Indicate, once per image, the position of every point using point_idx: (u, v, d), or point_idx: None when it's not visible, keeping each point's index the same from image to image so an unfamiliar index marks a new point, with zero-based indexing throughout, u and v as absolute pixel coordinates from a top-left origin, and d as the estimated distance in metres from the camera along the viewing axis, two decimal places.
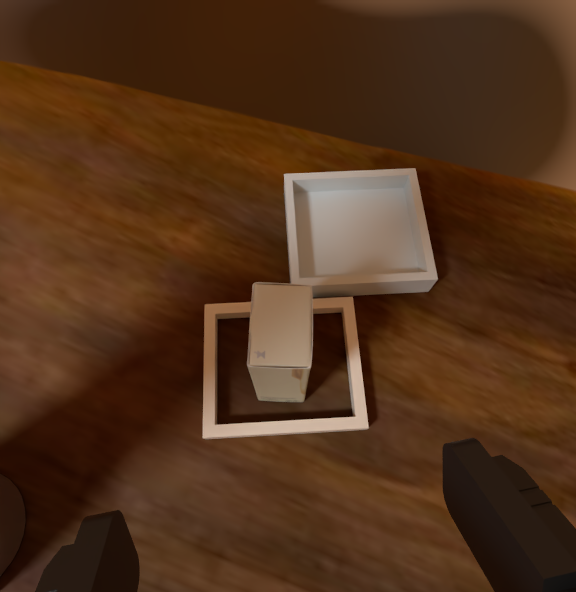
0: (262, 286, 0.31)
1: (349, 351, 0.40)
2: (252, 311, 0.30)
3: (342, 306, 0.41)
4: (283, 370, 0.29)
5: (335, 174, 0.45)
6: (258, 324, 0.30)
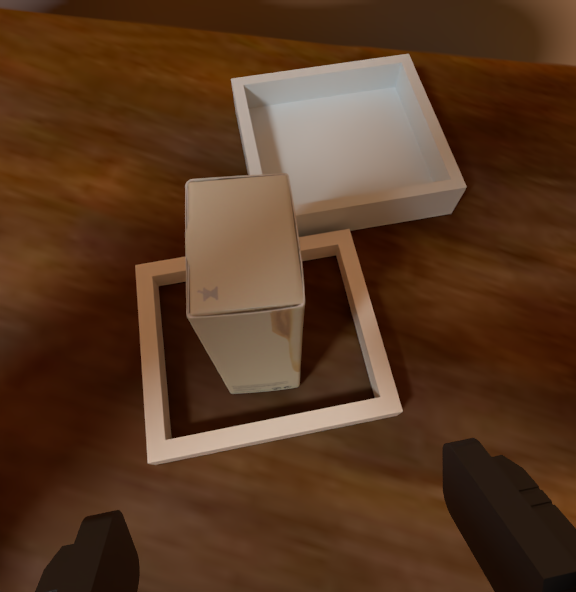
0: (203, 184, 0.18)
1: (356, 304, 0.27)
2: (188, 225, 0.17)
3: (336, 243, 0.29)
4: (255, 318, 0.16)
5: (302, 72, 0.33)
6: (201, 244, 0.16)
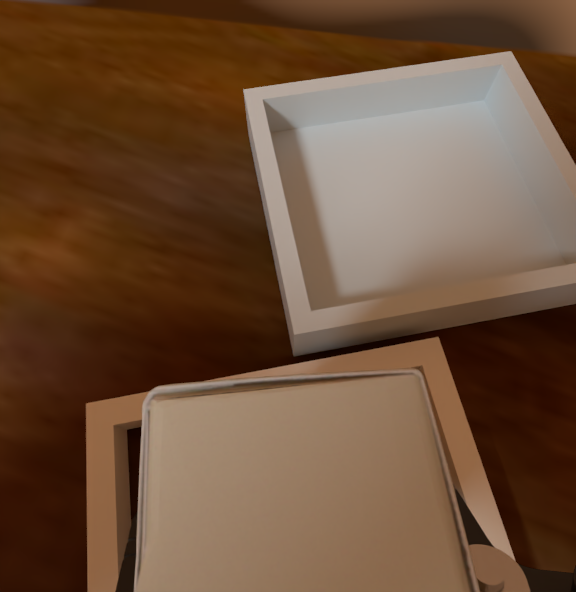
0: (191, 407, 0.06)
1: (462, 481, 0.16)
2: (144, 560, 0.06)
3: (419, 363, 0.17)
4: None
5: (352, 79, 0.21)
6: None
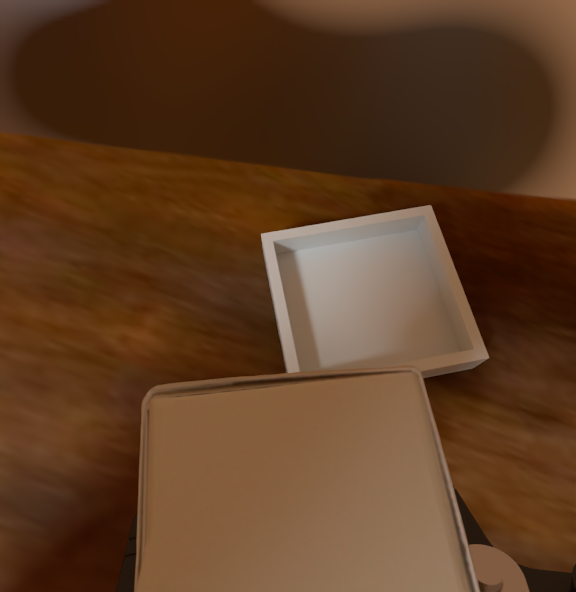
0: (190, 407, 0.06)
1: None
2: (145, 559, 0.06)
3: None
4: None
5: (329, 226, 0.34)
6: None
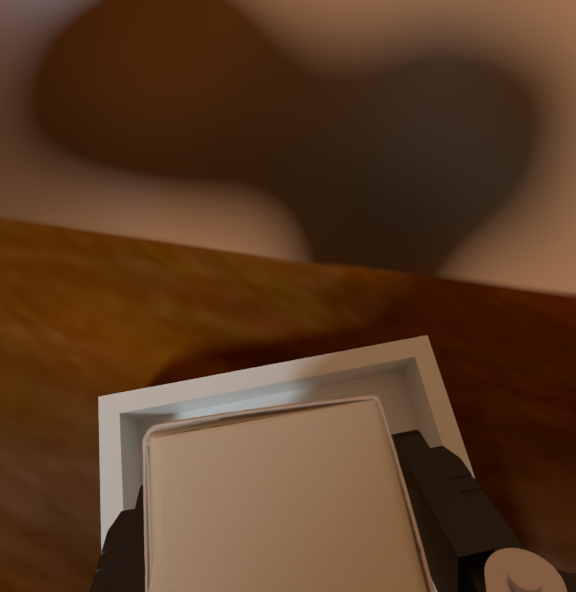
0: (184, 441, 0.07)
1: None
2: (152, 575, 0.07)
3: None
4: None
5: (231, 380, 0.18)
6: None
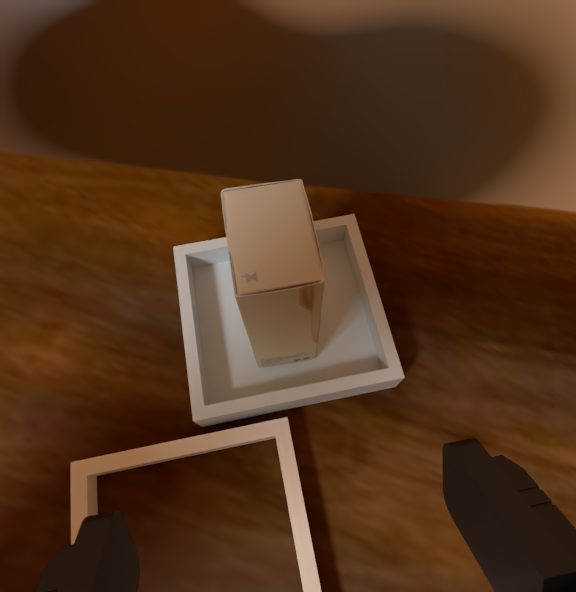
0: (235, 192, 0.22)
1: (290, 508, 0.27)
2: (227, 225, 0.21)
3: (273, 434, 0.28)
4: (287, 294, 0.20)
5: None
6: (239, 240, 0.21)
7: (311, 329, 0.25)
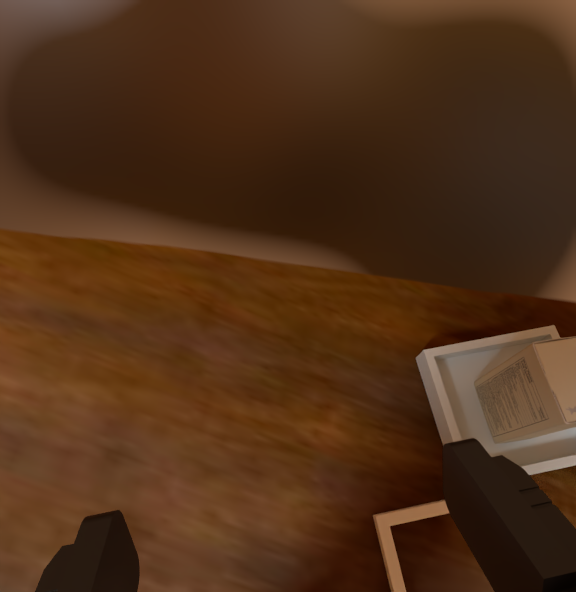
0: (543, 345, 0.33)
1: None
2: (545, 370, 0.32)
3: None
4: None
5: (476, 343, 0.43)
6: (557, 382, 0.32)
7: None
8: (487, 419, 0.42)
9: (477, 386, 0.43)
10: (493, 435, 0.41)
